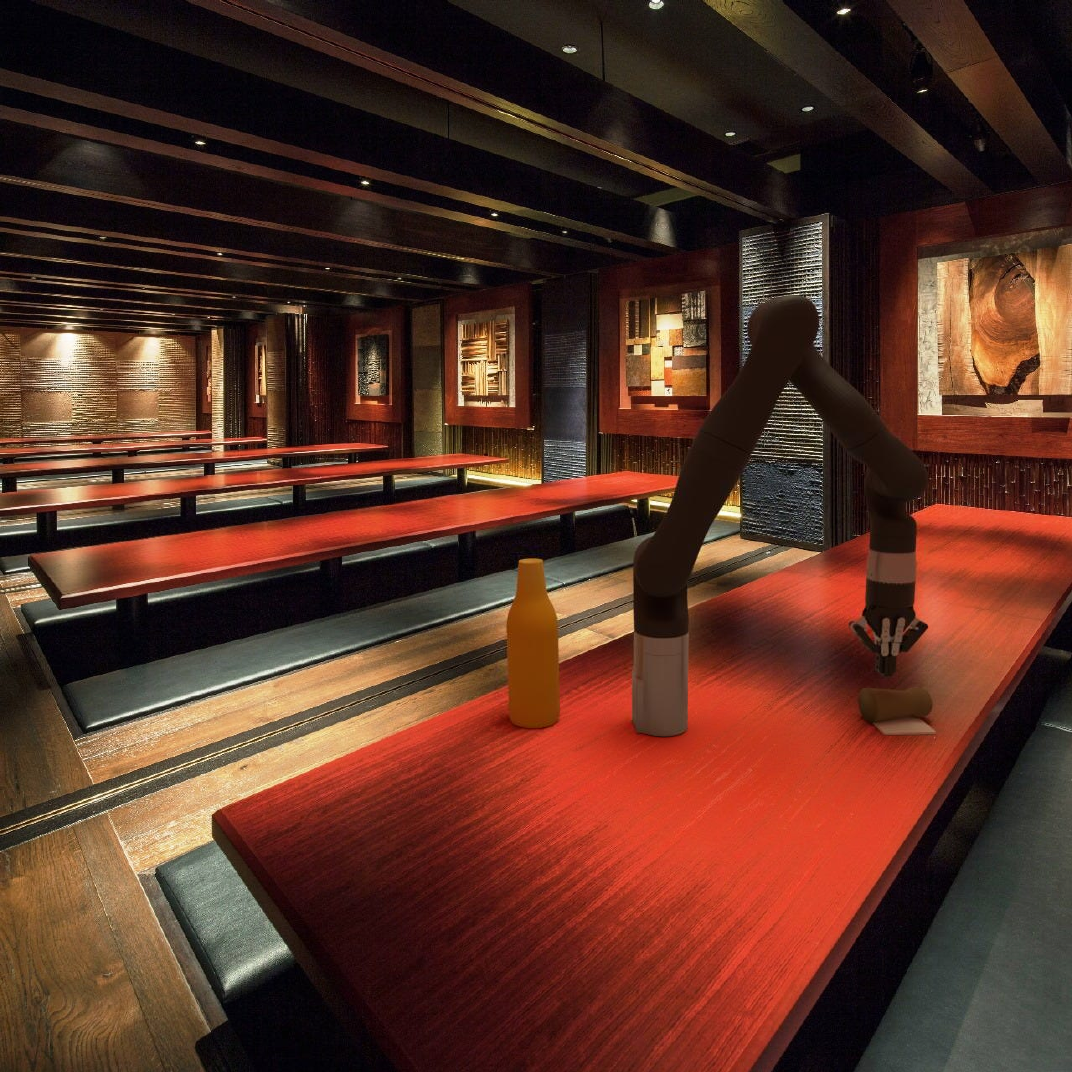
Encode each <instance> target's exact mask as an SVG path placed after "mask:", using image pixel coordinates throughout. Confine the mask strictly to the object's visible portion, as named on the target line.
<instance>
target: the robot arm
mask: <svg viewBox="0 0 1072 1072" xmlns="http://www.w3.org/2000/svg"><path fill="white" fill-rule="evenodd" d="M817 309H818V308H817V307H816V305H815V303H813V302H812V301H811V299H809V298H808V297H805V296H802V295H798V294H788V295H782V296H778V297H775V298H772V299H769V300H767V301H766V300H765V301H764V302H762V303H760V304H758V306H757V307H755V309H754V310H753V311H752V313H751V314H750V316H749V318H748V321H747V325H746V332H747V339H748V341H749V343H750V344H751V348H750V350H749V352H748V355H747V357H746V359H745V361H744V363H743V365H742V367H741V369H740V371H739V373H738V375H737V376H736V378H735V379H734V381H733V382H732V383H731V384H730V386H729V387H728V389H726V391H724V394H722V396H721V397H720V398H719V400H718V401H717V402H716V403H715V405H714V406H713V407H712V408H711V410H710V411H709V413H708V414H707V415H706V417H705V419H704V421H703V422H702V424H701V425H700V427H699V430H698V431H697V432H696V434H695V437H694V439H693V441H692V442H691V445H690V447H689V449H688V452H687V454H686V457H685V458H684V461H683V462H682V463H683V464H682V466H681V468H680V472H679V474H678V475H679V476H678V478H677V481H676V484H675V489H674V491H673V494H672V498H671V502H670V504H669V507H668V509H667V510H666V513H665V514H664V516H663V518H662V519H661V522H660V523H659V524H658V527H657V529H656V531H655V532H654V533H653V535H651V536H649V537H647V538H645V539H644V540H643V541H642V542H640V543H639V545H638V546H637V548H636V550H635V552H634V553H633V554H634V555H633V560H632V565H633V566H632V569H633V570H632V571H633V573H632V575H633V576H632V577H633V578H632V580H633V581H632V585H633V586H632V587H633V589H632V590H633V592H632V594H633V600H632V603H633V604H632V605H633V606H632V607H633V668H632V669H631V670H632V671H631V683H632V684H631V686H632V687H631V689H632V690H631V691H632V693H631V699H632V702H631V707H632V708H631V713H632V714H631V716H632V717H631V719H632V722H633V726H634V730H635V733H636V734H645V735H649V736H655V737H672V736H673V737H674V736H677V735H680V734H682V733H684V732H686V731H687V729H688V725H689V724H688V719H689V713H688V712H689V711H688V710H689V709H688V708H689V707H688V706H689V633H690V629H689V628H690V627H689V626H690V618H689V617H690V616H689V605H688V583H689V580H690V578H691V575H692V573H693V570H694V568H695V564H696V562H697V559H698V556H699V554H700V551H701V549H702V546H703V544H704V542H705V539H706V537H707V535H708V532H709V531H710V528H711V526H712V525H713V523H714V522H715V519H716V518H717V517H718V515H719V513H720V512H721V510H722V508H723V507H724V505H725V504H726V503H727V500H728V498H729V497H730V495H731V493H732V491H733V490H734V488H735V486H736V485H737V483H738V481H739V480H740V478H741V476H742V474H743V472H744V470H745V469H746V467H747V465H748V463H749V461H750V459H751V457H752V455H753V453H754V451H755V449H756V446H757V444H758V442H759V439H760V438H761V436H762V434H763V432H764V430H765V428H766V427H767V424H768V422H769V420H770V418H771V415H772V413H773V412H774V410H775V407H776V405H777V403H778V401H779V398H780V397H781V395H782V393H783V391H784V390H785V388H786V386H787V384H788V383H789V382H790V383H791V385H792V386H793V387H795V388H796V390H797V391H798V392H799V393H800V395H802V397H803V398H804V399H805V400H806V402H807V403H808V404H809V405H810V406H811V408H812V409H813V410H814V411H815V413H816V414H817V415H818V416H819V418H820V419H821V420H822V422H823V423H824V425H825V426H826V427H827V428H828V429H829V431H830V432H831V434H832V435H833V436H834V437H835V439H836V440H837V442H838V443H839V444H840V446H841V447H842V448H843V449H844V450H845V452H847V454H848V455H849V456H850V457H852V459H854V460H856V461H857V462H860V463H862V464H863V465H865V466H866V467H867V470H866V473H865V478H864V495H865V499H866V507H867V511H868V512H867V513H868V517H869V521H870V530H869V545H868V554H867V558H866V559H867V560H866V569H865V574H866V575H865V576H866V577H865V595H864V596H865V598H864V600H865V601H864V607H863V608H864V609H863V610H862V612H861V616H860V618H858V619H856V620H850V621H848V627H849V628H850V630H851V631H853V633H854V634H855V636H856V637H857V638H858V639H859V641H860V643H862V644H863V646H864V647H865V648H866V649H868V650H869V651H870V652H871V653H875V670H876V672H878V674H879V675H881V677H885V678H886V677H893V675H894V674H895V673H896V670H897V657H898V655H899V654H901V653H903V652H904V653H907V652H909V651H910V650H911V648H912V647H913V646H914V645H915V644H916V643H917V642H918V641H919V639H920V638H921V637H922V636H923V635H924V634H925V633H926V632H927V630H928V629H929V625H928V624H927V623H926V622H924V621H922V620H921V619H919V618H918V617H917V614H916V613H917V612H916V611H915V607H914V606H915V605H914V604H915V600H916V599H915V598H916V585H917V583H916V582H917V581H916V580H917V566H918V565H917V555H916V554H917V551H916V550H917V533H918V527H917V526H918V525H917V523H918V522H917V520H916V519H915V518H914V517H913V515H911V514H910V513H909V512H908V509H907V502H911V501H915V500H918V499H919V498H921V496H923V495H924V494H925V492H926V491H927V489H928V485H929V473H928V470H927V467H926V466H925V464H924V463H923V461H922V460H921V459H920V457H919V456H918V455H916V454H915V452H913V450H911V449H910V447H908V446H907V445H906V444H905V443H904V442H903V441H901V439H899V438H898V437H897V436H896V435H895V434H893V433H892V432H891V431H890V430H889V429H888V427H887V425H886V424H885V423H884V421H883V420H882V418H881V417H880V416H879V415H878V412H876V411H875V410H874V408H873V407H872V406H871V404H870V403H869V402H868V401H867V399H865V397H864V396H863V394H861V393H860V392H859V391H858V390H857V389H856V387H854V386H852V385H851V384H850V383H849V382H848V381H847V380H846V379H845V378H843V376H841V375H840V374H839V373H838V372H837V371H836V370H835V369H834V368H832V366H831V364H829V363H828V361H826V360H825V358H824V357H823V356H822V354H821V353H820V352H819V351H818V348H816V346H815V344H814V343H815V340H816V339H817V337H818V333H819V329H820V316H819V312H818V310H817ZM867 625H868V626H867ZM868 627H869V628H870V630H871V631H872V632H873V639H874V641H873V640H872V638H871V637H870V635H868V633H867V630H868Z"/></svg>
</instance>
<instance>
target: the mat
mask: <svg viewBox="0 0 1072 1072" xmlns="http://www.w3.org/2000/svg"><path fill="white" fill-rule="evenodd" d="M872 725H874V727H876V728H877V730H879V731H880V732H881V733H882V734H883V735H884V736H892V735H893V736H898V735H900V736H901V735H902V736H904V735H905V736H906V735H911V736H912V735H936V734H937V731H936V730H934V729H933V728H932V727H931V726H930V725H928V724H927V723H926V722H925V721H924V720H922V719H921V717H914V716H912V715H908V716H903V717H898V718H894V719H889V720H885V721H880V722H875V723H872Z"/></svg>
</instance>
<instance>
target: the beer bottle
mask: <svg viewBox="0 0 1072 1072" xmlns="http://www.w3.org/2000/svg"><path fill="white" fill-rule="evenodd" d="M517 567H518V568H517V577H516V578H517V580H516V589H515V590H516V591H515V596H514V599H513V601H512V603H511V606H510V608H509V610H508V613H507V617H506V628H505V629H506V652H507V658H506V659H507V686H508V687H507V688H508V691H507V694H508V717H509V719H510V721H511V723H512V724H513V725H515V726H517V727H520V728H524V729H541V728H543V727H544V728H548V727H550V726H553V725H554V724H556V722H558V721H559V718H560V716H561V715H560V714H561V701H560V666H559V665H560V657H559V656H560V655H559V653H560V651H559V647H560V646H559V621H558V615H557V611H556V609H555V607H554V606H553V603H552V601H551V600H550V597H549V595H548V591H547V582H546V576H545V575H546V574H545V569H544V568H545V567H544V561H543V559H541V558H524V559H522V558H521V559H520V560H518V566H517Z"/></svg>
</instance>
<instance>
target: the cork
mask: <svg viewBox="0 0 1072 1072" xmlns="http://www.w3.org/2000/svg"><path fill="white" fill-rule="evenodd" d="M857 698H858V701H857V702H858V708H859V709H858V710H859V713H860V714H861V715H860V716H861V717H862V718H863V720H864V721H865V722H867V724H873V723H875V722H880V721H885V720H889V719H894V718H898V717H903V716H908V715H912V716H914V717H919V718H925V717H927V716H928V715H930V713H931V712H932V710H933V699H932V697H931V694H930V692H929V691H927V690H926V689H925V688H923V687H921V686H911V687H909V688H908V689H906V690H902V689H900V690H899V689H886V688H885V689H884V688H873V687H872V688H871V687H862V688H861V690H860V691H859V693H858V697H857Z"/></svg>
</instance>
